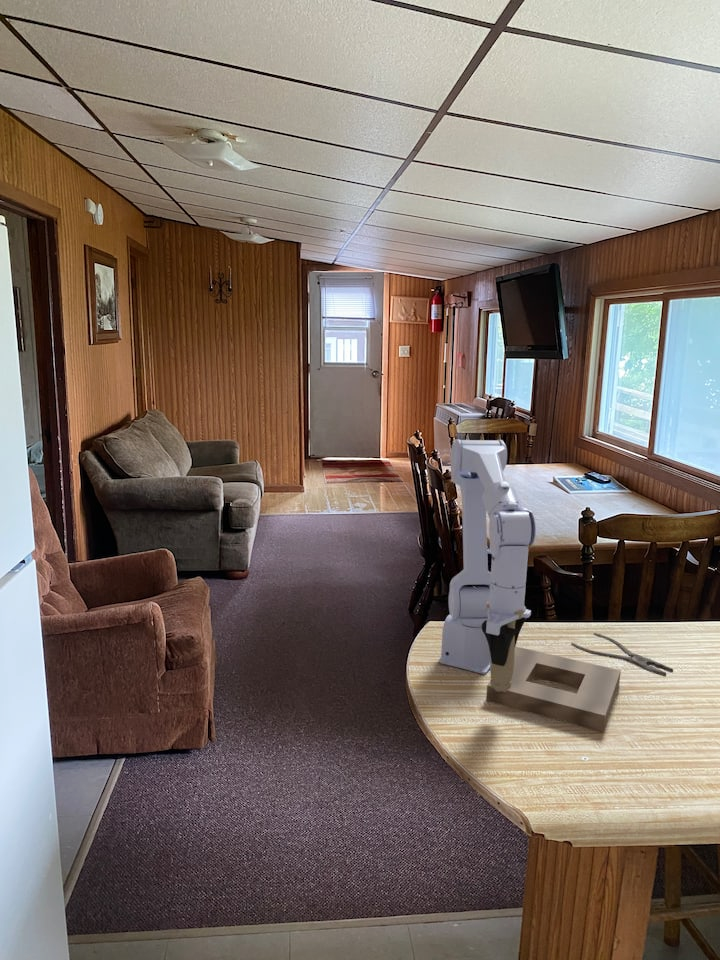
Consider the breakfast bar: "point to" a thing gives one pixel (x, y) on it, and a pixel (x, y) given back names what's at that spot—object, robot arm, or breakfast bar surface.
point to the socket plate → (555, 703)
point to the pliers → (633, 659)
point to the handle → (504, 673)
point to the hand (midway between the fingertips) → (502, 658)
